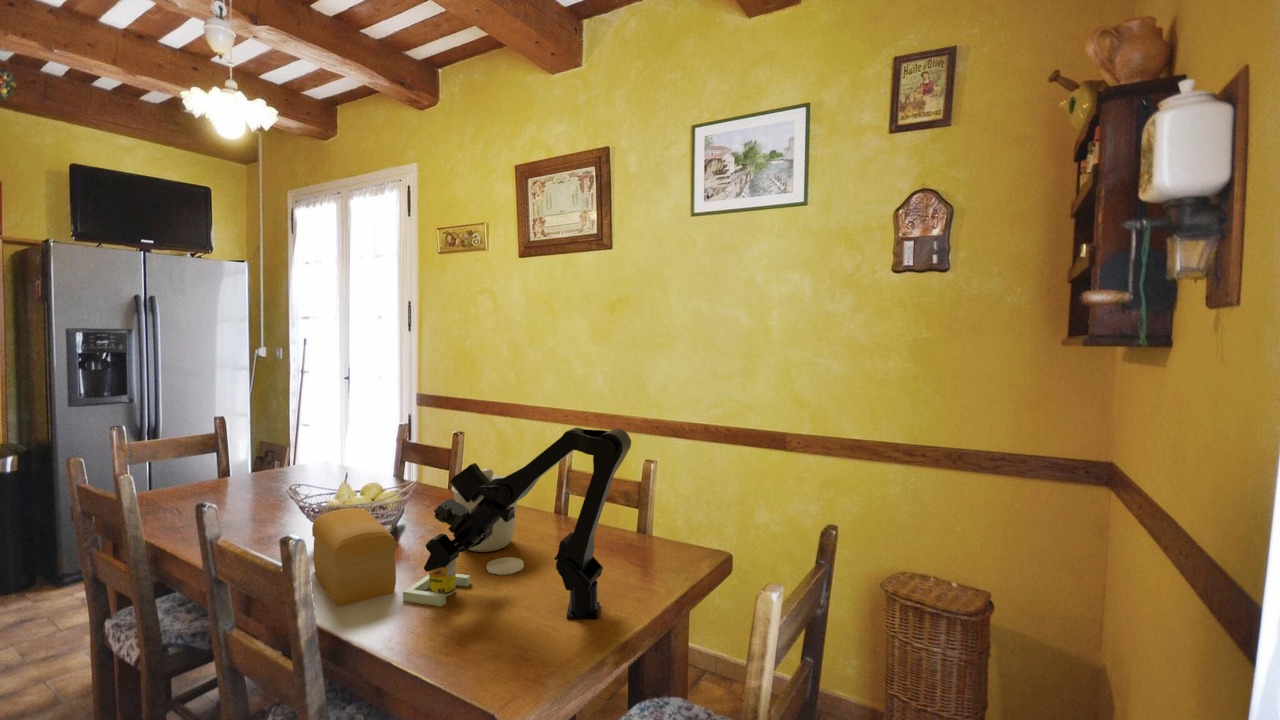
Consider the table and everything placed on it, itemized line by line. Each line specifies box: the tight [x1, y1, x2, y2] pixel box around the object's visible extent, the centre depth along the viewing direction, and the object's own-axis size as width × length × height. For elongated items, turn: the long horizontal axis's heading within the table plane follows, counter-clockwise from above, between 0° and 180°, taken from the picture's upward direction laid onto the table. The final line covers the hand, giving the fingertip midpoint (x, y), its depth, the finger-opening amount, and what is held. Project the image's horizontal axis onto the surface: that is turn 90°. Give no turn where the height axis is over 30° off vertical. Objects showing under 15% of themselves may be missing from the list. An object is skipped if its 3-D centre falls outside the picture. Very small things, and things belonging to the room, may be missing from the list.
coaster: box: [486, 556, 525, 576], centre depth 148 cm, size 9×9×1 cm
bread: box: [311, 507, 397, 607], centre depth 139 cm, size 24×13×15 cm, turn 38°
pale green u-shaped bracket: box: [402, 573, 472, 607], centre depth 134 cm, size 10×12×2 cm
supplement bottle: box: [428, 559, 457, 597], centre depth 133 cm, size 6×6×10 cm
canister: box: [451, 467, 518, 553], centre depth 162 cm, size 18×18×21 cm
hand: (437, 561), depth 134 cm, fingers open, 9 cm apart
